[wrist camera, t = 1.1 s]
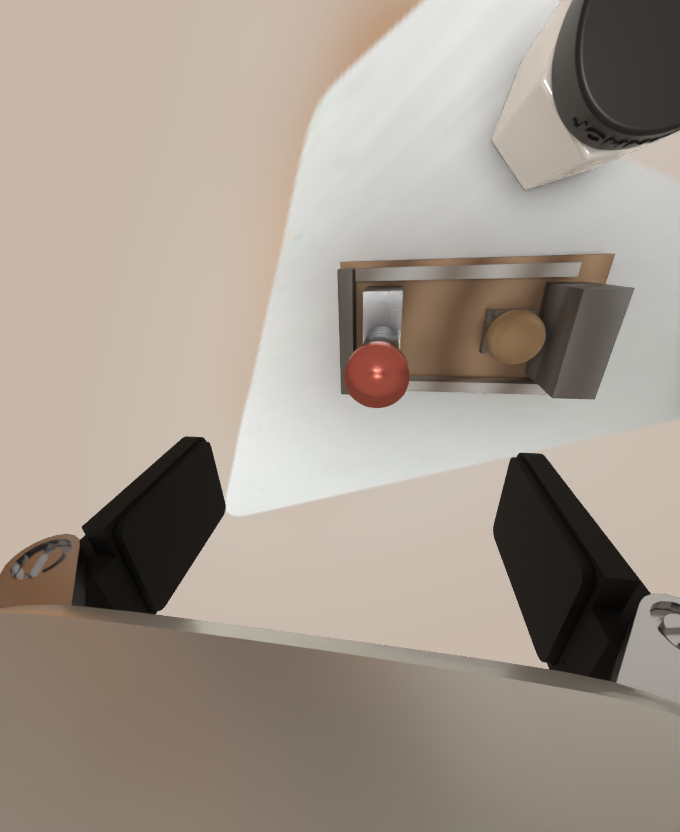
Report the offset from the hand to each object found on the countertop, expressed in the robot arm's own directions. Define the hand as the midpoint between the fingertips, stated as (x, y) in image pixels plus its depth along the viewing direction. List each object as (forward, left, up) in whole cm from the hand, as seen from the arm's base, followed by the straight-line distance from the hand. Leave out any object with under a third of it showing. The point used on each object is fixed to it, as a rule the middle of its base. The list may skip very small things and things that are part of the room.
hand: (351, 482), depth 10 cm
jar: (-12, -15, -25) cm, 31 cm away
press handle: (0, 0, -23) cm, 23 cm away
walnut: (-11, 0, -21) cm, 23 cm away
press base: (-7, 0, -24) cm, 25 cm away
